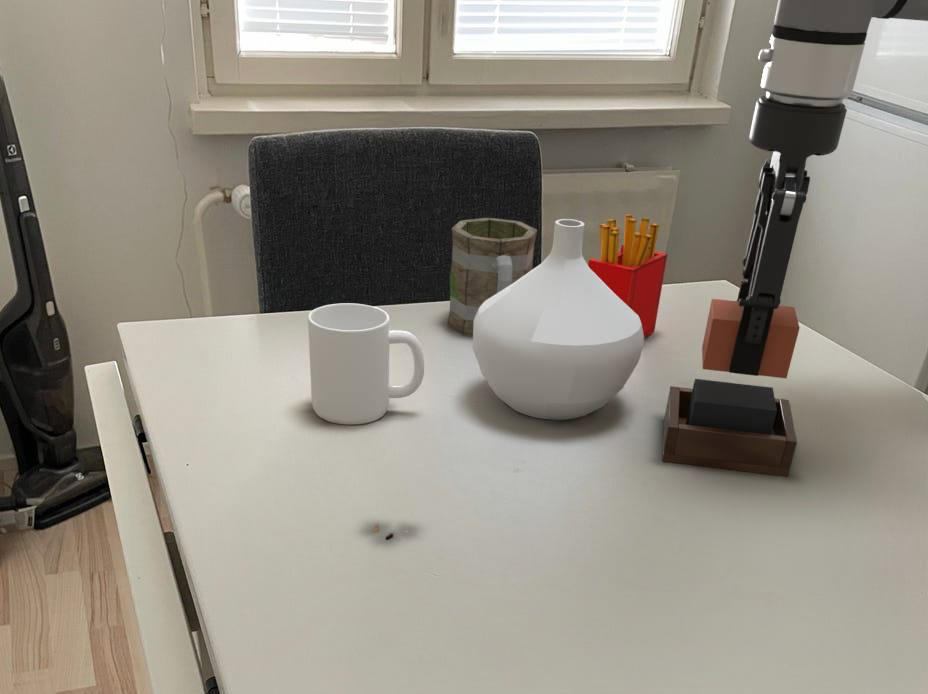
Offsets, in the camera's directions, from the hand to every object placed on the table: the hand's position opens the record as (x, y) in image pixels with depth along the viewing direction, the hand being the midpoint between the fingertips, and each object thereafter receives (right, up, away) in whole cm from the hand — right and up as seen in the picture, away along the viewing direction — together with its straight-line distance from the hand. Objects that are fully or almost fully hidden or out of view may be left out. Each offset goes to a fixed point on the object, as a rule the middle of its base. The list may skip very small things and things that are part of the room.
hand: (742, 359), depth 98 cm
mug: (-24, +12, +30) cm, 40 cm away
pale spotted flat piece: (-35, -19, -11) cm, 41 cm away
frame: (0, -7, +6) cm, 9 cm away
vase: (-18, -1, +13) cm, 22 cm away
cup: (-38, -3, +9) cm, 39 cm away
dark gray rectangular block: (0, -7, +5) cm, 9 cm away
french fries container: (-7, +11, +30) cm, 33 cm away
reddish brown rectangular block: (0, 0, 0) cm, 0 cm away
